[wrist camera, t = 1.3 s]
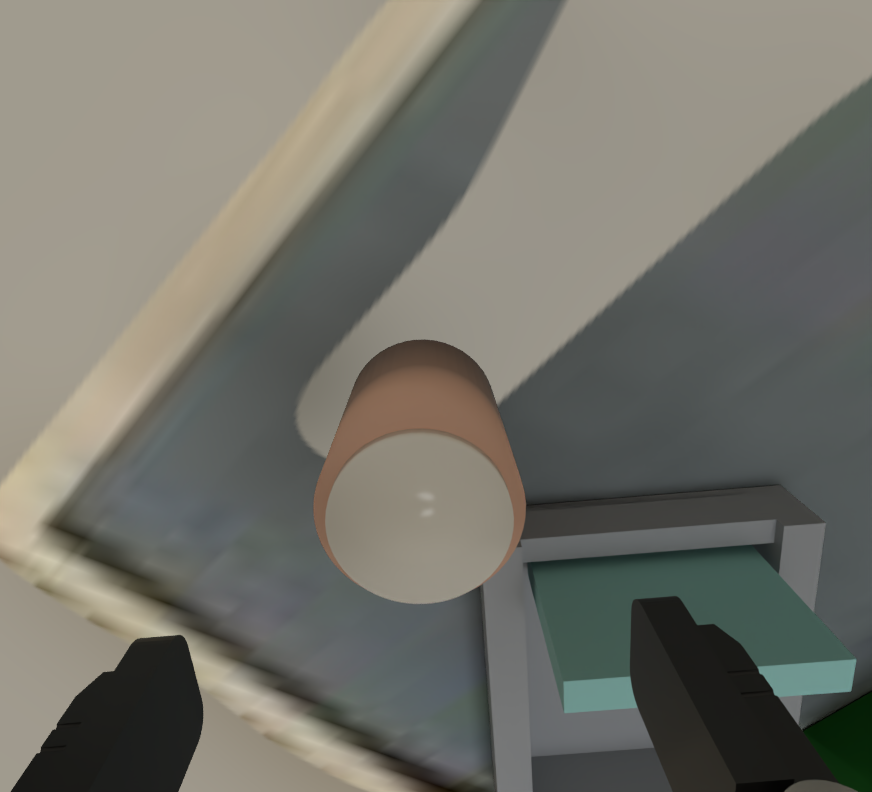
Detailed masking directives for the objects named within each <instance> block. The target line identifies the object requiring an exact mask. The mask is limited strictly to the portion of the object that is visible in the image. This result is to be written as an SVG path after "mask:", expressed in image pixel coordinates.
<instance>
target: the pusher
mask: <svg viewBox="0 0 872 792" xmlns="http://www.w3.org/2000/svg"><path fill="white" fill-rule="evenodd" d="M527 566H528V577H529V581H530V585H531V589H532V593H533V597H534V600H535V604H536V608H537V612H538V616H539V619H540V623H541V627H542V631H543V635H544V638H545V642H546V646H547V650H548V654H549V657H550V661H551V665H552V669H553V673H554V677H555V680H556V684H557V688H558V692H559V696H560V699H561V703H562V707H563V711H564V713H575V712H589V711H602V710H615V709H628V708H638V707H637V705H636V701H635V698H634V694H633V690H632V685H631V678H630V639H631V607H632V602H633V600H635V599H644V598H656V597H668V596H677V597H679V598H680V599H681V601H682V602H683V603H684V605H685V607H686V608H687V610H688V611H689V613H690V614H691V616H692V618H693V619H694V621H695V622H696V624H697V625H706V624H715V625H716V626H718V627H719V628H720V629H722V630H723V631H724V632H726V633H727V634H728V635H730V636H731V637H732V638H734V639H735V640H736V641H738V642H739V643H740V644H741V645H742V646H743V647H744V649H745V650H746V652H747V653H748V655H749V656H750V657H751V659H752V660H753V662H754V663H755V665H756V666H757V667H758V669H759V673H760V674H763V676H764V677H765V679H766V680H767V682H768V683H769V684H770V686H771V687H772V689H773V691H774V695H775V696H778V697H786V696H799V695H812V694H825V693H838V692H851V689H852V683H853V677H854V671H855V665H856V658H855V657H854V656H853V655H852V654H851V653H850V652H849V650H848V649H847V648H846V647H845V646H844V645H843V644H842V643H841V642H840V641H839V640H838V638H837V637H836V636H835V635H834V634H833V633H832V632H831V631H830V630H829V629H828V628H827V626H826V625H825V624H824V623H823V622H822V621H821V620H820V619H819V618H818V617H817V616H816V614H815V613H814V612H813V611H812V610H811V609H810V608H809V607H808V606H807V605H806V604H805V603H804V601H803V600H802V599H801V598H800V597H799V596H798V595H797V594H796V593H795V592H794V591H793V589H792V588H791V587H790V586H789V585H788V584H787V583H786V582H785V581H784V580H783V579H782V577H781V576H780V575H779V574H778V573H777V572H776V571H775V570H774V569H773V568H772V567H771V565H770V564H769V563H768V562H767V561H766V560H765V559H764V558H763V557H762V556H761V555H760V554H759V552H758V551H757V550H756V549H755V548H754V547H753V546H752V545H740V546H727V547H714V548H702V549H689V550H677V551H664V552H652V553H639V554H626V555H614V556H601V557H589V558H576V559H563V560H551V561H538V562H527Z"/></svg>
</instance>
